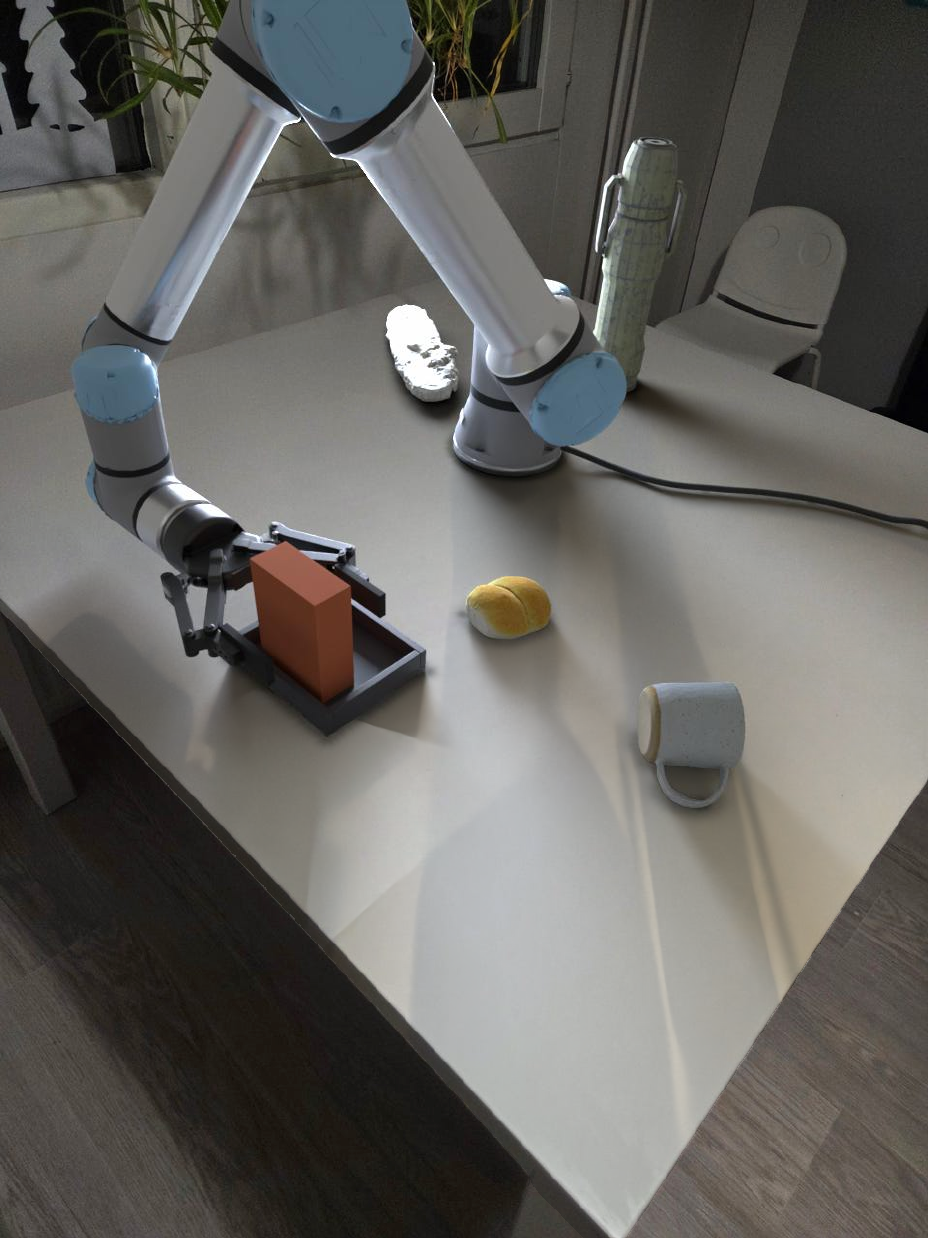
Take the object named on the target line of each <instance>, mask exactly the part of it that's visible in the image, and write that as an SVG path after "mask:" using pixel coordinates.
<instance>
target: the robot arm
mask: <svg viewBox="0 0 928 1238" xmlns="http://www.w3.org/2000/svg"><path fill="white" fill-rule="evenodd" d="M208 57H209V60H210V65H211V68H212V73H211V75H210V77H209V80H208V81H207V83H206V86H205V88H204V90H203V92H202V94H201V96H200V98H199V100H198V102H197V105H196V107H195V109H194V111H193V113H192V115H191V117H190V120H189V122H188V124H187V126H186V128H185V130H184V133H183V134H182V136H181V139H180V141H179V143H178V145H177V147H176V149H175V152H174V154H173V156H172V158H171V160H170V163H169V164H168V166H167V168H166V170H165V173H164V175H163V176H162V179H161V181H160V183H159V185H158V187H157V190H156V191H155V194H154V196H153V198H152V200H151V202H150V204H149V207H148V208H147V211H146V212H145V215H144V217H143V219H142V221H141V223H140V226H139V228H138V229H137V232H136V234H135V236H134V238H133V241H132V242H131V245H130V246H129V249H128V251H127V253H126V256H125V257H124V259H123V262H122V264H121V266H120V268H119V270H118V272H117V274H116V276H115V278H114V281H113V283H112V285H111V287H110V289H109V291H108V293H107V296H106V298H105V300H104V304H103V305H102V307H101V309H100V311H99V313H98V314H96V316H94V317H93V318H92V319H91V320H90V321H89V322H88V324H87V326H86V328H85V331H84V333H83V337H82V340H81V353H80V355H79V356H77V357H76V358H74V360H73V361H72V363H71V367H70V372H71V378H72V382H73V389H74V394H73V396H74V398H75V402H76V404H78V408H79V411H80V414H81V418H82V422H83V425H84V428H85V432H86V436H87V439H88V442H89V443H88V444H89V446H90V449H91V453H92V457H93V459H92V460H91V462H90V464H89V466H88V469H87V474H86V478H85V488H86V491H87V493H88V496H89V497H90V499H91V500H92V502H94V503H95V504H96V505H97V507H98V508H99V509H100V510H101V511H102V512H103V513H104V515H105V516H107V518H109V519H110V520H111V521H113V522H114V523H117V524H118V525H120V527H121V528H123V529H124V530H126V531H127V532H128V533H130V534H131V535H133V536H134V537H135V538H136V539H138V540H139V541H140V542H141V543H143V544H144V545H145V546H147V547H148V548H149V549H150V550H152V551H153V552H154V553H155V554H157V555H158V556H160V557H161V558H162V559H163V560H165V562H167V563H168V564H169V565H170V566H171V567H173V568H174V569H175V570H176V571H177V572H178V573H179V574H177V575H175V574H174V573H173V572H171V571H165V572H162V573H161V574H160V576H159V578H160V582H161V587H162V591H163V595H164V598H165V599H166V600H167V601H168V602H169V604H171V605H172V607H173V608H174V612H175V617H176V620H177V625H178V629H179V633H180V637H181V641H182V644H183V651H184V654H185V655H186V657H187V658H195V657H197V656H198V655H199V654H200V652H201V651H205V650H207V654H208V657H210V658H213V659H214V658H218V657H220V658H221V660H223V661H224V662H226V664H228V665H229V666H232V667H236V666H238V665H241V666H243V667H244V666H245V667H246V668H245V667H244V668H245V669H247V671H249V672H250V671H251V672H252V673H253V674H252V673H251V672H250V673H251V674H252V675H253V676H255V677H256V678H257V677H258V678H259V679H258V678H257V679H258V680H260V682H262V683H263V682H264V683H265V684H266V685H265V684H264V683H263V684H264V685H265V686H267V687H268V686H270V685H272V684H273V683H275V675H274V667H273V660H272V659H271V658H270V657H269V656H267V655H266V654H265V653H264V652H262V651H261V650H260V649H259V648H257V647H256V646H255V645H254V644H253V643H251V642H250V641H249V640H248V639H246V638H245V637H244V636H243V635H241V634H240V633H239V632H238V631H239V630H237V629H235V628H234V626H232V625H230V624H229V623H228V622H226V623H224V616H225V606H226V604H227V594H228V591H234V592H237V591H239V590H240V589H242V588H244V587H245V586H246V585H248V584H250V583H253V579H252V572H251V564H250V558H252V557H254V556H256V555H258V554H261V553H263V552H265V551H267V550H269V549H271V548H273V547H275V546H277V545H279V544H281V543H283V542H285V541H286V542H288V543H289V544H290V545H292V546H293V547H295V548H296V549H298V550H299V551H301V552H302V553H303V554H305V555H306V556H308V557H309V558H311V559H312V560H314V561H315V562H316V563H318V564H319V565H321V566H322V567H324V568H325V569H327V570H328V571H329V572H331V573H332V574H334V575H335V576H337V577H338V578H340V579H341V580H342V581H344V582H345V583H347V584H348V585H350V586H351V599H353V600H354V601H356V602H357V603H359V604H360V605H361V606H363V607H364V608H366V609H367V610H368V611H370V612H371V613H373V614H374V615H376V616H377V617H378V618H382V619H383V617H385V616H386V615H387V602H386V601H387V600H386V599H387V597H386V596H387V593H386V592H385V591H383V590H382V589H380V588H379V587H377V586H375V585H374V584H373V583H372V582H370V577H369V575H368V574H367V573H365V572H364V571H362V570H361V569H359V568H357V557H356V556H357V554H356V546H355V545H353V544H350V543H346V542H342V541H338V540H335V539H330V538H326V537H322V536H319V535H314V534H310V533H306V532H303V531H298V530H295V529H290V528H289V527H287V526H285V525H284V524H282V523H281V522H278V521H272V522H270V523H269V524H268V531H267V532H266V533H264V534H262V535H260V536H258V535H256V534H251V533H248V532H246V531H245V529H244V528H243V527H242V526H241V524H239V522H237V520H235V519H234V518H232V516H230V515H228V514H227V513H226V512H224V511H223V510H221V509H220V508H219V507H217V506H215V505H214V504H213V502H211V501H209V500H208V499H206V498H205V497H203V496H202V495H200V494H199V493H197V492H196V491H194V490H193V489H191V488H190V487H189V486H188V485H186V484H184V483H183V482H182V481H180V480H179V479H178V478H177V477H176V475H175V473H174V467H173V462H172V457H171V451H170V447H169V443H168V437H167V432H166V426H165V421H164V415H163V408H162V403H161V394H160V385H159V376H158V369H159V366H160V364H161V363H162V360H163V359H164V357H165V355H166V353H167V351H168V349H169V347H170V345H171V343H172V341H173V339H174V337H175V335H176V333H177V330H178V329H179V327H180V325H181V323H182V321H183V320H184V318H185V315H186V314H187V311H188V310H189V307H190V306H191V304H192V302H193V300H194V298H195V296H196V295H197V292H198V291H199V288H200V287H201V284H202V283H203V281H204V279H205V277H206V275H207V273H208V272H209V269H211V268H210V267H211V265H212V264H213V262H214V260H215V258H216V256H217V254H218V252H219V251H220V249H221V246H222V245H223V242H224V241H225V239H226V237H227V235H228V233H229V232H230V229H231V227H232V225H233V223H234V222H235V220H236V218H237V216H238V214H239V212H240V210H241V208H242V206H243V204H244V203H245V201H246V199H247V197H248V195H249V193H250V191H251V189H252V188H253V186H254V183H255V181H256V179H258V176H259V174H260V172H261V170H262V168H263V166H264V165H265V162H266V161H267V158H268V157H269V155H270V153H271V151H272V148H273V147H274V145H275V144H276V141H277V140H278V137H280V134H281V132H282V131H283V128H284V127H285V126H286V125H289V124H293V123H298V122H300V120H301V118H303V119H304V121H305V122H306V123H307V124H308V126H309V127H310V129H311V130H312V131H313V133H314V134H315V135H316V136H317V138H318V140H319V141H320V142H321V144H322V145H323V147H324V148H325V149H326V150H327V152H328V153H329V154H330V155H331V156H332V157H333V158H335V159H343V160H351V161H355V162H356V163H358V165H359V166H360V168H361V169H362V170H363V172H364V173H365V174H366V176H367V178H368V179H369V180H370V182H371V183H372V185H373V186H374V187H375V188H376V190H377V191H378V193H379V194H380V195H381V197H382V198H383V199H384V201H385V202H386V204H387V205H388V207H389V208H390V210H391V211H392V212H393V213H394V215H395V216H396V218H397V220H398V221H399V222H400V223H401V225H402V227H404V229H405V231H406V232H407V233H408V234H409V236H410V237H411V239H412V240H413V241H414V243H415V244H416V246H417V247H418V249H419V250H420V251H421V253H422V254H423V255H424V257H425V259H426V260H427V261H428V263H429V264H430V265H431V266H432V268H433V270H434V271H435V272H436V274H437V275H438V276H439V278H440V279H441V280H442V282H443V283H444V284H445V286H446V287H447V289H448V290H449V292H450V293H451V295H452V296H453V297H454V298H455V300H456V302H457V303H458V304H459V306H460V307H461V308H462V310H463V311H464V313H465V314H466V315H467V317H468V318H469V319H470V321H471V322H472V324H473V327H474V328H473V344H472V356H471V357H472V358H471V359H472V360H471V372H470V373H471V374H470V375H471V376H470V390H469V396H468V398H467V400H466V403H465V405H464V407H462V408H461V411H460V413H459V419H458V422H457V424H456V426H455V430H454V433H453V445H452V446H453V450H454V453H455V455H456V456H457V457H458V458H459V459H460V460H461V461H462V462H463V463H465V464H466V465H468V466H470V467H471V468H473V469H476V470H478V471H480V472H484V473H487V474H491V475H496V476H503V477H526V476H534V475H537V474H541V473H544V472H546V471H549V470H550V469H552V468H554V467H555V466H556V465H557V464H558V463H559V461H560V460H561V456H562V451H563V452H565V453H568V454H570V455H573V456H575V457H578V458H581V459H583V460H586V461H588V462H590V463H593V464H595V465H598V466H600V467H603V468H605V469H608V470H611V471H613V472H616V473H619V474H621V475H623V476H626V477H629V478H631V479H635V480H638V481H641V482H644V483H649V484H651V485H656V486H660V487H665V488H672V489H679V490H688V491H701V492H702V491H703V492H711V493H712V492H713V493H724V494H725V493H726V494H737V495H738V494H739V495H751V496H752V495H753V496H763V497H771V498H778V499H779V498H780V499H787V500H788V499H789V500H794V501H801V502H807V503H813V504H818V505H823V506H828V507H832V508H836V509H840V510H844V511H848V512H852V513H855V514H859V515H861V516H865V517H869V518H872V519H876V520H879V521H883V522H887V523H893V524H900V525H909V526H911V525H912V526H918V527H923V528H925V529H926V530H928V520H926V519H922V518H918V517H917V518H916V517H906V516H896V515H891V514H886V513H884V512H883V513H882V512H879V511H875V510H871V509H868V508H865V507H861V506H857V505H855V504H851V503H847V502H843V501H839V500H834V499H830V498H825V497H820V496H815V495H811V494H804V493H799V492H790V491H783V490H775V489H768V488H759V487H758V488H757V487H745V486H744V487H743V486H731V485H716V484H706V483H694V482H693V483H692V482H682V481H674V480H670V479H669V480H668V479H663V478H658V477H655V476H651V475H647V474H643V473H640V472H637V471H635V470H631V469H629V468H627V467H624V466H621V465H618V464H616V463H613V462H610V461H607V460H605V459H602V458H600V457H598V456H596V455H593V454H591V453H588V452H586V451H583V450H581V449H578V448H575V446H578V445H579V446H580V445H582V444H585V443H587V442H589V441H591V440H592V439H594V438H596V437H597V436H599V435H600V434H601V433H603V432H604V431H605V430H606V429H607V428H608V427H609V426H610V425H611V424H612V423H613V421H614V420H615V419H616V417H618V414H619V413H620V411H621V405H622V404H623V402H624V401H625V399H626V395H627V392H626V388H627V383H626V377H625V374H624V371H623V369H622V368H621V366H620V365H619V362H618V360H617V359H616V358H615V357H614V356H612V355H611V354H610V353H607V352H606V351H605V350H604V348H603V347H602V346H601V344H600V343H599V341H598V340H597V338H596V337H595V335H594V333H593V329H592V328H591V326H590V325H589V323H588V322H587V319H586V318H585V317H584V314H583V313H582V311H581V310H580V308H579V307H578V305H577V303H576V302H575V301H574V300H573V299H572V298H571V297H572V296H571V295H572V294H571V289H570V288H569V287H568V286H567V285H566V284H563V283H562V282H559V281H556V280H551V279H546V278H544V277H543V275H542V274H541V272H540V270H539V268H538V267H537V265H536V264H535V262H534V261H533V259H532V257H531V255H530V254H529V252H528V250H527V249H526V247H525V245H524V243H523V242H522V241H521V239H520V237H519V235H518V234H517V232H516V231H515V230H514V227H513V226H512V224H511V223H510V221H509V219H508V218H507V216H506V214H505V213H504V211H503V210H502V208H501V206H500V205H499V203H498V201H497V200H496V198H495V196H494V194H493V193H492V192H491V190H490V188H489V187H488V184H487V183H486V182H485V180H484V178H483V177H482V175H481V173H480V172H479V170H478V169H477V167H476V165H475V164H474V162H473V160H472V158H471V157H470V155H469V154H468V152H467V150H466V149H465V147H464V145H463V144H462V142H461V141H460V138H459V137H458V135H457V134H456V132H455V131H454V129H453V127H452V126H451V123H449V121H448V119H447V118H446V115H445V114H444V113H443V111H442V109H441V108H440V106H439V105H438V103H437V101H436V99H435V98H434V96H433V90H434V82H435V75H436V65H435V62H434V61H433V59H432V57H431V56H430V54H429V52H428V51H427V49H426V47H425V45H424V44H423V42H422V40H421V38H420V36H419V35H418V33H417V32H416V30H415V28H414V27H413V23H412V17H411V13H410V9H409V5H408V1H407V0H229V1H228V4H227V7H226V10H225V11H224V15H223V18H222V20H221V23H220V26H219V27H218V30H217V32H216V35H215V37H214V39H213V42H212V43H211V46H210V48H209V50H208ZM190 586H193V587H195V588H200V589H201V588H203V589H206V599H205V607H204V615H203V625H202V628H200V629H196V628H195V625H194V621H193V617H192V613H191V609H190V605H189V602H188V594H189V593H190Z"/></svg>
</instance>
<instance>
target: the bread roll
mask: <svg viewBox="0 0 928 1238" xmlns="http://www.w3.org/2000/svg"><path fill="white" fill-rule="evenodd" d="M465 614H466V617H467V618H468V620H469V621H470V623H471V624H472V626H473V627H474V628H475V629H476V630H477V631H478V632H480V633H481V634H482V635H484V636H485V637H488V638H491V639H497V640H515V639H518V638H521V637H524V636H526V635H529V634H530V633H535V632H537V631H539V630H542V629H543V628H544V627H546V626H547V625H548V624H549V622H550V620H551V614H552V604H551V600H550V598H549V595H548V593H547V591H546V590H545V589H544V588H543V587H542V586H541V585H540V584H539V583H538V582H537V581H535V580H533V579H532V578H528V577H525V576H515V575H514V576H501V577H498V578H496V579H494V580H492V581H490V582H489V583H488V584H481V585H477V586H476V587H474V588H473V590H472V591H470V592H469V594H468V595H467V598H466V601H465Z"/></svg>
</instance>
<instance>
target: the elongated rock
mask: <svg viewBox="0 0 928 1238" xmlns="http://www.w3.org/2000/svg"><path fill="white" fill-rule="evenodd" d="M427 313H428V312H427V310H426V309H422V308H421V307H419V306H416V305H408V304H404V305H402V306H401V305H400V306H397V307H395V308H394V309H392V310H391V311H390V312H389V313H388V316H387V319H386V322H385V325H386V329H387V333H386V334H385V338H386V339H387V341H389V344H390V352H391V356H392V357H393V360H394V368H395V370H397V372H398V373H399V375H400V376H401V377H402V380H403V382H404V384H405V387H406V388H407V390H408V391H409V392H410V393H411V395H413V396H415V397H416V398H417V399H419V400H421V401H422V402H426V403H427V402H428V403H429V402H439V401H440V402H441V401H445V400H449V399H450V398H451V394H452V391H453V392H456V391H457V389H458V387H459V384H458V383H459V380H460V372H459V370H458V369H457V364H456V363H457V362H456V358H457V357H458V356H459V351H458V348H456V347H455V346H452V345H449V344H444V343H442V338H441V336H440V334H439V331H438V328H437V327H436V325H435V323H434V321H433V319H430V318H429V316H428V314H427Z"/></svg>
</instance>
